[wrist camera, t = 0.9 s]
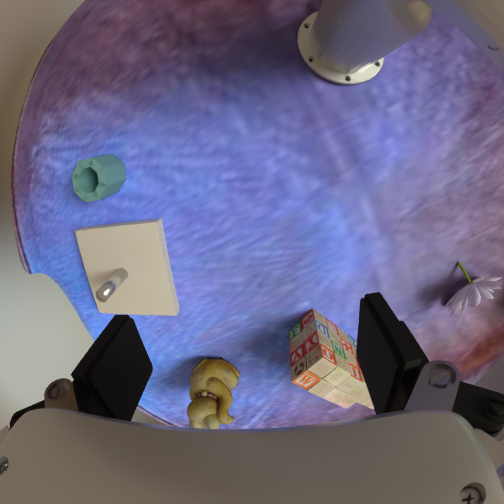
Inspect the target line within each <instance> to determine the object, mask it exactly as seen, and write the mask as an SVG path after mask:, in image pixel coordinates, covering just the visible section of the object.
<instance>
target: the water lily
mask: <svg viewBox="0 0 504 504" xmlns="http://www.w3.org/2000/svg"><path fill="white" fill-rule="evenodd" d="M457 264H458V266H459V267H460V268H461V270H462V271H463V273H464V275H465V276H466V278H467V280H468V282H469V284H468V285H467V286H465V287H463V288H462V289H460V290H459V291H458V292H457V293H456V294H454V295H453V296H452V297H451V299H450V300H449V301H448V302H447V304H446V305H445V306H447V305H449V304H450V303H451V302H453V303H452V305H451V306H450V309H449V311H451V310H452V312H451V315H450V317H449V318H451V317H452V316H453V315H454V314H455V313H456V312H457V311H458V310H459V308H461V314H462V313H463V312H464V310H465V308H466V306H467V303H468V304H469V305H470V306H471V307H475V306H476V305H478V304H479V303H480V301H481V296H483V297H485V298H487V299H493V296H492V295H491V293H494V292H493V291H492V290H491V289H501V287H498V286H496V285H499V284H500V283H499V282H495V281H497V280H499V279H501V277H491V278H485V279H484V278H481V277H480V278H476V279H474V280H473V281H472V282H471V280H470V278H469V276H468V274H467V272H466V271H465V269H464V267H463V266H462V264H461V263H460V262H458V263H457ZM481 279H482V280H481Z"/></svg>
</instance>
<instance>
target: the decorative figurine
mask: <svg viewBox="0 0 504 504" xmlns="http://www.w3.org/2000/svg"><path fill="white" fill-rule="evenodd" d="M239 377H240V373H239V371H238V370H237V369H236V368H235V367H234V366H233V365H232V364H230V363H229V362H227V361H225V360H224V359H223V358H222V357H221V358H219V359H203V360H201V361H200V362H199V363H198V365H197V366H196V367H195V368H194V370H193V371H192V374H191V377H190V386H191V388H190V399H191V400H192V402H191V403H190V404H189V406H188V408H187V415H188V418H189V420H190V428H201V429H202V428H208V429H219V425H220V424H221V423H222V424H225V425H227V424H231V423H232V422H233V421H234V417H231V416H230V415H229V413H228V410H229V407H230V406H231V403H232V399H233V398H232V394H231V390H232V389H235V388H236V387H237V385H238V378H239Z"/></svg>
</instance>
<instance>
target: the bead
mask: <svg viewBox="0 0 504 504" xmlns="http://www.w3.org/2000/svg"><path fill="white" fill-rule="evenodd" d="M125 180H126V174H125V167H124V163H123V162H122V161H121V160H120V159H118V158H117V157H116V156H115V155H114V154H111V155H105V156H99V157H93V158H89V159H85V160H82V161H79V162H78V164H77V166H76V168H75V170H74V172H73V174H72V181H73V187H74V192H75V193H76V194H77V195H78V196H79V197H80V198H81V199H82V200H83V201H84V202H90V201H95V200H100V199H102V198H104V197H107V196H109V195H112V194H114V193H116V192H119V190H120V188H121V187H122V185H123V183H124V182H125Z"/></svg>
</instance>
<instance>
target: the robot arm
mask: <svg viewBox="0 0 504 504" xmlns="http://www.w3.org/2000/svg"><path fill="white" fill-rule="evenodd" d="M433 9H434V10H435V11H437V12H438V13H439V14H440V15H442V16H443V17H445V18H447V19H448V20H449V21H450V22H451V23H452V24H454V25H455V26H456V27H457V28H458V29H459V30H460V31H461V32H463V33H464V34H465V35H466V36H467V37H468V38H469V39H470V40H471V41H472V42H473V43H474V44H475V45H476V46H477V47H478V48H479V49H480V50H481V51H482V52H483V53H484V54H485V55H486V56H487V57H488V58H489V59H490V60H491V61H492V63H493V64H494V65H495V66H496V67H497V68H498V69H499V70H500V71H501V72H502V73H503V74H504V0H323V1H322V4H321V6H320V8H319V11H317V12H315V13H312V14H311V15H309V16H308V17H307V18H306V19H305V20H304V21H303V22H302V24H301V26H300V28H299V31H298V36H297V44H298V49H299V52H300V55H301V57H302V58H303V60H304V62H305V63H306V64H307V65H308V67H309V68H310V69H311V70H313V71H314V72H315V73H316V74H318V75H319V76H321V77H322V78H324V79H326V80H328V81H331V82H334V83H337V84H342V85H357V84H361V83H364V82H366V81H368V80H370V79H372V78H373V77H375V76H376V74H377V73H378V72H379V71H380V70H381V68H382V66H383V62H384V57H385V56H386V55H388V54H389V53H391V52H392V51H394V50H395V49H397V48H398V47H400V46H402V45H403V44H405V43H406V42H408V41H410V40H411V39H413V38H414V37H416V36H418V35H419V34H420V33H422V32H423V31H424V30H425V29H426V27H427V26H428V24H429V22H430V19H431V16H432V11H433ZM305 27H307V28H305ZM310 59H311V60H312V62H310V61H309V60H310ZM375 64H376V65H377V66H375ZM345 78H347V80H348V81H346V80H345ZM356 357H357V360H358V363H359V366H360V369H361V371H362V374H363V377H364V380H365V383H366V386H367V389H368V392H369V395H370V398H371V401H372V404H373V407H374V410H375V413H376V415H371V416H365V417H360V418H354V419H348V420H342V421H335V422H328V423H320V424H312V425H303V426H293V427H281V428H264V429H201V428H184V427H172V426H162V425H153V424H145V423H138V422H131V419H132V417H133V414H134V412H135V410H136V407H137V405H138V403H139V401H140V398H141V396H142V394H143V391H144V389H145V387H146V385H147V382H148V380H149V378H150V376H151V373H152V370H153V367H152V363H151V361H150V359H149V356H148V354H147V352H146V350H145V347H144V345H143V342H142V340H141V338H140V335H139V333H138V330H137V328H136V325H135V322H134V320H133V319H132V318H130V317H129V315H115V316H114V317H113V319H112V320H111V321H110V322H109V324H108V325H107V326H106V328H105V329H104V330H103V331H102V333H101V334H100V335H99V337H98V338H97V339H96V341H95V342H94V343H93V345H92V346H91V347H90V349H89V350H88V352H87V353H86V354H85V356H84V357H83V358H82V360H81V361H80V363H79V364H78V365H77V366H76V368H75V369H74V371H73V372H72V374H71V376H72V377H73V379H74V380H73V382H71V381H70V380H69V379H66V378H61V379H58V380H55V381H53V382H52V383H51V384H49V386H48V387H47V388H46V390H45V394H44V398H45V400H43V401H41V402H38V403H36V404H34V405H32V406H29V407H27V408H24V409H22V410H20V411H17V412H16V413H14V415H13V416H12V419H11V421H10V428H9V427H8V426H6V427H5V428H3V429H2V430H0V504H504V394H501V393H498V392H495V391H491V390H488V389H485V388H481V387H478V386H474V385H471V384H468V383H465V382H462V381H460V373H459V370H458V369H457V368H456V367H455V366H454V365H453V364H451V363H449V362H447V361H441V360H437V361H432V362H429V360H428V358H427V357H426V355H425V354H424V352H423V350H422V349H421V347H420V346H419V344H418V343H417V341H416V339H415V338H414V336H413V335H412V333H411V332H410V330H409V329H408V327H407V326H406V324H405V323H404V322H403V321H399V320H398V319H397V317H396V316H395V314H394V313H393V311H392V310H391V308H390V307H389V305H388V304H387V302H386V301H385V299H384V298H383V296H382V295H381V293H380V292H377V293H370V294H366V295H365V297H364V298H362V299H361V300H360V312H359V326H358V337H357V347H356Z"/></svg>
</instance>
